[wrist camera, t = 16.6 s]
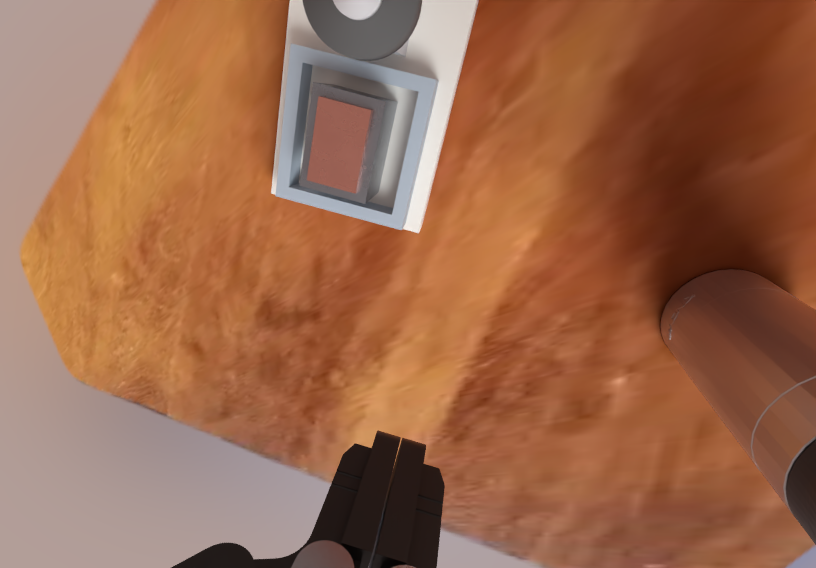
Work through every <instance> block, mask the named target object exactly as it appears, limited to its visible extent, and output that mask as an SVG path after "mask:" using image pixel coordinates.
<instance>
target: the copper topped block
mask: <svg viewBox="0 0 816 568" xmlns="http://www.w3.org/2000/svg"><path fill="white" fill-rule="evenodd" d="M397 104H398V101H394V100H390V99H387V98H383V97H379V96H375V95H372V94H368V93H364V92H360V91H357V90H353V89H349V88H345V87H342V86H338V85H334V84H325V83H316V82H313V87H312V95H311V102H310V109H309V117H308V124H307V132H306V139H305V147H304V154H303V162H302V169H301V177H300V184H299V186H302V187H306V188H310V189H313V190H317V191H320V192H324V193H327V194H331V195H334V196H338V197H342V198H345V199H349V200H352V201H356V202H359V203H363V204H366V203H367V202H368V201H369V200H370V199H371V198H373V197H374V196H375V195H376V194H377V193H378V192H379V188H380V184H381V179H382V174H383V170H384V165H385V160H386V156H387V151H388V146H389V141H390V137H391V132H392V127H393V123H394V118H395V113H396V109H397Z"/></svg>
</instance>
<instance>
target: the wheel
mask: <svg viewBox="0 0 816 568" xmlns="http://www.w3.org/2000/svg"><path fill="white" fill-rule="evenodd" d="M303 6H304V9H305V13H306V15H307V18H308V20H309V23H310V24H311V26H312V28H313V30H314V31H315V33H316V34H317V36H318V37H319V38H320V39H321V40H322V41H323V42H324V43H325V44H326V45H327V46H328V47H330V48H331V49H333V50H334V51H336V52H338V53H340V54H342V55H345V56H348V57H351V58H354V59H357V60H363V61H373V60H379V59H383V58H385V57H388V56H390V55H392V54H393V53H395V52H396V51H397V50H399V49H400V48H401V47H402V46H403V45H404V44H405V43H406V42H407V41H408V39H409V38H410V36H411V35H412V33H413V31H414V29H415V27H416V25H417V22H418V20H419V16H420V13H421V7H422V0H303Z"/></svg>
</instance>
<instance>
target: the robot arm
mask: <svg viewBox="0 0 816 568" xmlns="http://www.w3.org/2000/svg"><path fill="white" fill-rule="evenodd" d="M660 326H661V335H662V337H663V340H664V342H665V344H666V345H667V347H668V348H669V349H670V351H671V352H672V354H673V355H674V356H675V358H676V359H677V360H678V362H679V363H680V364H681V366H682V367H683V368H684V370H685V371H686V373H687V374H688V376H689V377H690V378H691V380H692V381H693V382H694V384H695V385H696V386H697V388H698V389H699V390H700V392H701V393H702V394H703V396H704V397H705V398H706V400H707V401H708V402H709V404H710V405H711V406H712V408H713V409H714V410H715V412H716V413H717V414H718V416H719V417H720V418H721V420H722V421H723V422H724V424H725V425H726V426H727V428H728V429H729V430H730V432H731V433H732V434H733V436H734V437H735V438H736V440H737V441H738V442H739V444H740V445H741V446H742V448H743V449H744V450H745V452H746V453H747V454H748V456H749V457H750V458H751V460H752V461H753V462H754V464H755V465H756V466H757V468H758V469H759V470H760V471H761V473H762V474H763V475H764V477H765V478H766V479H767V481H768V482H769V483H770V485H771V486H772V487H773V489H774V490H775V491H776V493H777V494H778V495H779V497H780V498H781V499H782V501H783V502H784V503H785V505H786V506H787V507H788V509H789V510H790V511H791V513H792V514H793V515H794V516H795V518H796V519H797V520H798V522H799V523H800V524H801V526H802V527H803V528H804V530H805V531H806V532H807V533H808V535H809V536H810V538H811V539H812V540H813V542H814V543H815V544H816V310H814V309H813V308H811V307H810V306H808V305H807V304H805V303H803V302H802V301H800V300H799V299H797V298H796V297H794V296H793V295H791V294H789V293H788V292H786V291H785V290H783V289H782V288H780V287H778V286H777V285H775V284H774V283H772V282H770V281H769V280H767V279H765V278H764V277H762V276H760V275H758V274H756V273H753V272H749V271H745V270H736V269H727V270H717V271H714V272H710V273H706V274H703V275H701V276H699V277H697V278H695V279H693V280H691V281H689V282H688V283H686V284H685V285H684V286H682V287H681V288H680V289H679V290H678V291H677V292H676V293H675V294H674V295H673V296H672V297H671V299H670V300H669V301H668V303H667V304H666V306H665V309H664V311H663V314H662V318H661V324H660ZM400 438H401V437H398V436H394V435H391V434H388V433H384V432H381V431H377V433H376V437H375V440H374V443H373V446H372V448H369V447H365V446H362V445H359V444H354V445H353V446H352V447H351V448H350V449H349V450H348V451H346V452H345V453H344V454H343V456H342V458H341V461H340V464H339V466H338V469H337V472H336V474H335V476H334V479H333V481H332V484H331V486H330V489H329V492H328V494H327V497H326V499H325V502H324V504H323V507H322V509H321V512H320V514H319V517H318V519H317V522H316V524H315V527H314V529H313V532H312V534H311V536H310V538H309V540H308V541H307V543H306V544H305V545H304V546H303V547H302V548H300V549H299V550H298V551H297V552H295V553H293V554H291V555H289V556H286V557H283V558H276V559H255V560H253V557H252V556H251V554H250V552H249V551H248V550H247V549H246V548H244V547H242V546H240V545H238V544H234V543H221V544H217V545H213V546H211V547H209V548H207V549H205V550H203V551H201V552H199V553H198V554H196V555H194V556H192V557H190V558H188V559H186V560H185V561H183V562H181V563H179V564H177V565H175V566H173V567H172V568H436V566H437V557H438V547H439V537H440V527H441V516H442V507H443V505H442V504H443V497H444V487H445V485H444V482H443V479H442V476H441V473H440V470H439V468H436V467H432V466H429V465H426V464H423V462H424V456H425V450H426V445H425V444H422V443H418V442H415V441H412V440H408V439H405V438H402V441H401V445H400V448H399V451H398V447H399V442H400ZM397 451H398V455H397ZM396 455H397V458H396ZM395 459H396V462H395ZM394 463H395V465H394ZM393 467H394V468H393ZM392 471H393V472H392ZM368 566H369V567H368Z"/></svg>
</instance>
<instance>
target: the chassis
mask: <svg viewBox="0 0 816 568" xmlns="http://www.w3.org/2000/svg"><path fill="white" fill-rule="evenodd" d="M478 1H479V0H422V7H421V13H420V16H419V20H418V22H417V25H416V27H415V29H414V31H413V33H412V35H411V36H410V38H409V39H408V41H407V42H406V43H405V44H404V45H403V46H402V47H401V48H400V49H399V50H397V51H396V52H395V53H393V54H392V55H390V56H388V57H385V58H383V59H379V60H373V61H363V60H357V59H354V58H351V57H348V56H345V55H342V54H340V53H338V52H336V51H334V50H333V49H331V48H330V47H328V46H327V45H326V44H325V43H324V42H323V41H322V40H321V39H320V38H319V37H318V36H317V34H316V33H315V31H314V30H313V28H312V26H311V24H310V23H309V20H308V18H307V15H306V13H305V9H304V6H303V0H290V2H289V13H288V23H287V34H286V44H285V55H284V65H283V75H282V86H281V96H280V107H279V117H278V128H277V138H276V149H275V159H274V169H273V180H272V190H271V193H272V194H276V196H277V197H281V198H284V199H288V200H292V201H296V202H299V203H303V204H307V205H310V206H314V207H318V208H321V209H325V210H329V211H332V212H336V213H340V214H343V215H347V216H351V217H355V218H358V219H362V220H366V221H369V222H373V223H377V224H380V225H384V226H388V227H391V228H395V229H399V230H402V229H405V230H409V231H412V232H416V233H419V232H420V229H421V227H422V224H423V220H424V216H425V212H426V208H427V204H428V200H429V196H430V192H431V188H432V184H433V180H434V176H435V172H436V168H437V164H438V160H439V156H440V152H441V148H442V144H443V140H444V136H445V132H446V129H447V125H448V121H449V117H450V113H451V109H452V105H453V101H454V97H455V93H456V89H457V85H458V81H459V77H460V73H461V69H462V65H463V61H464V57H465V53H466V49H467V45H468V41H469V37H470V33H471V29H472V25H473V21H474V17H475V13H476V9H477V5H478ZM313 82H316V83H325V84H334V85H338V86H342V87H345V88H349V89H353V90H357V91H360V92H364V93H368V94H372V95H375V96H379V97H383V98H387V99H390V100H394V101H398V104H397V109H396V113H395V118H394V123H393V127H392V132H391V137H390V141H389V146H388V151H387V156H386V160H385V165H384V170H383V174H382V179H381V184H380V188H379V192H378V193H377V194H376V195H375V196H374V197H373V198H371V199H370V200H369V201H368V202H367V203H366V204H363V203H359V202H356V201H352V200H349V199H345V198H342V197H338V196H334V195H331V194H327V193H324V192H320V191H317V190H313V189H310V188H306V187H302V186H299V184H300V177H301V169H302V162H303V154H304V147H305V139H306V132H307V124H308V117H309V109H310V102H311V95H312V87H313Z"/></svg>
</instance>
